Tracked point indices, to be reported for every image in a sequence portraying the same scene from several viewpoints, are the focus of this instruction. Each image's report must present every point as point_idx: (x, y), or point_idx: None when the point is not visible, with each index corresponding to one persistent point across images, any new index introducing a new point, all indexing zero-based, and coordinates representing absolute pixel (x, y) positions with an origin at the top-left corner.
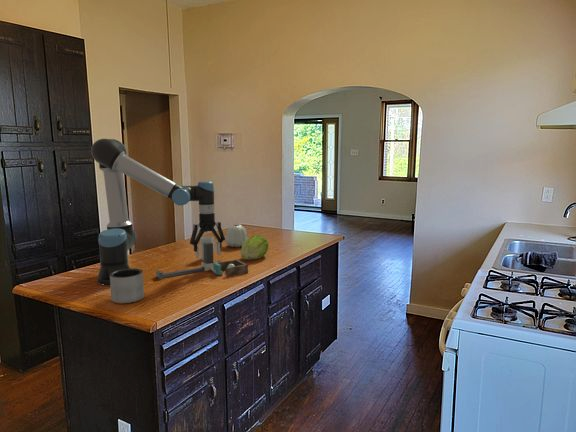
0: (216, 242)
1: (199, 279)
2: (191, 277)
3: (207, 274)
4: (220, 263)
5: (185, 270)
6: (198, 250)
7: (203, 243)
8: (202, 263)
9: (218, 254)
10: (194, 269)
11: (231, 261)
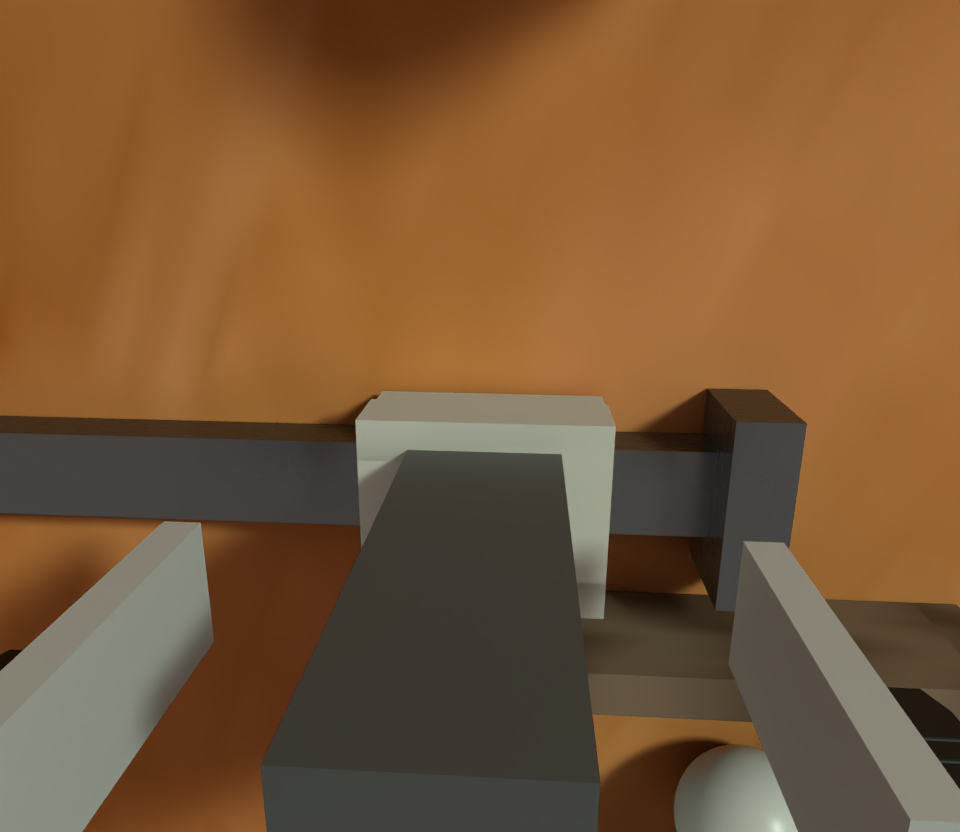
0: (891, 802)
1: (190, 805)
2: None
3: None
4: (643, 704)
5: (46, 474)
6: (91, 787)
7: (268, 768)
8: (361, 480)
9: (735, 647)
10: (200, 509)
11: None
